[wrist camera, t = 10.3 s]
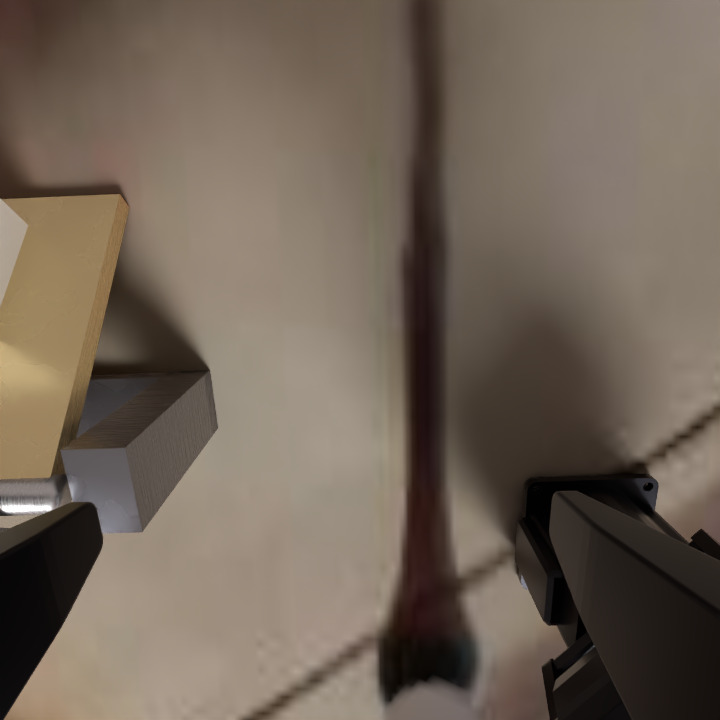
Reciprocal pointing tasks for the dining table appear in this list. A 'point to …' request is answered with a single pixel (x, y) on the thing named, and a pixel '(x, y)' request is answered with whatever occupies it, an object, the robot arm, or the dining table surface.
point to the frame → (137, 442)
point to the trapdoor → (52, 340)
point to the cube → (9, 243)
